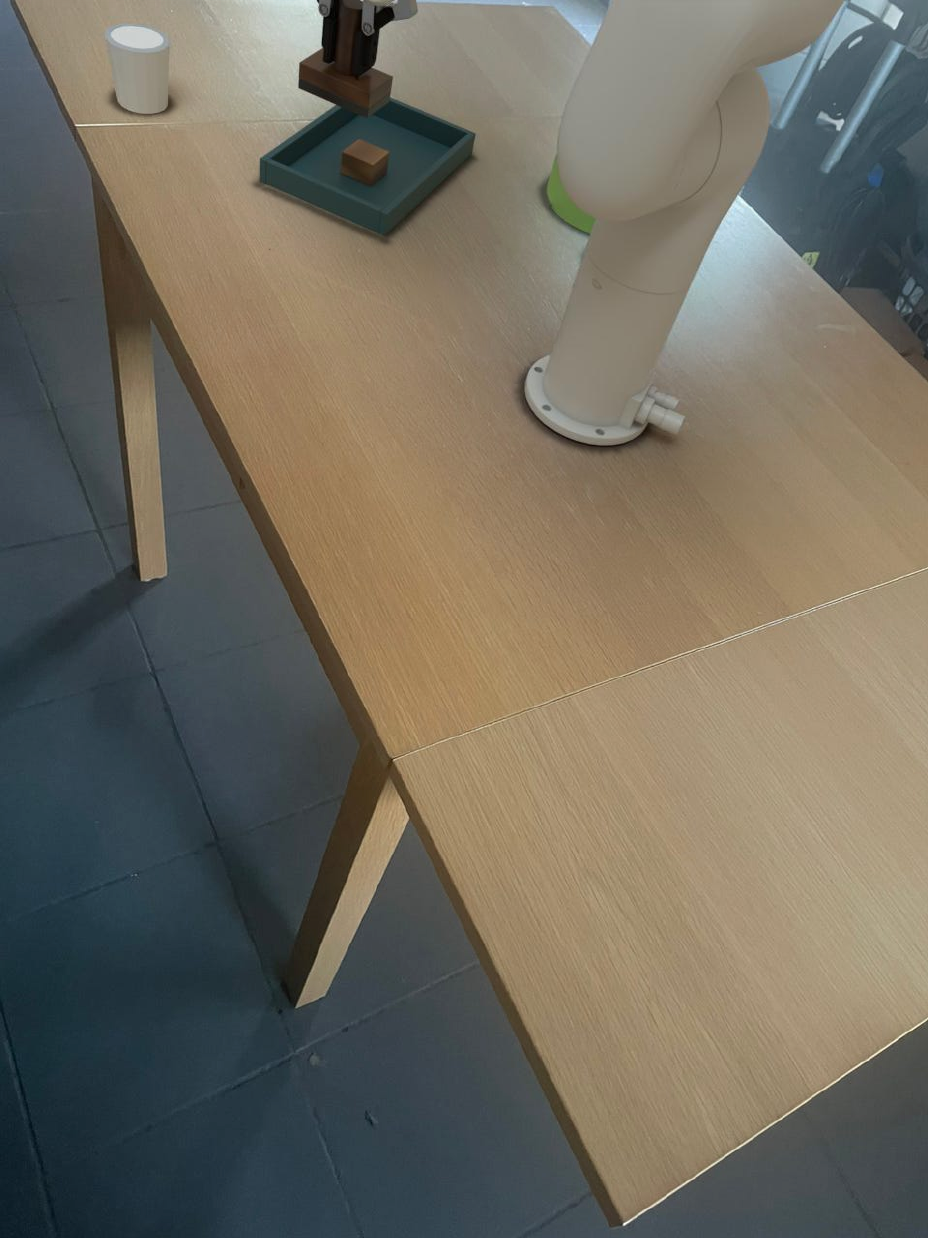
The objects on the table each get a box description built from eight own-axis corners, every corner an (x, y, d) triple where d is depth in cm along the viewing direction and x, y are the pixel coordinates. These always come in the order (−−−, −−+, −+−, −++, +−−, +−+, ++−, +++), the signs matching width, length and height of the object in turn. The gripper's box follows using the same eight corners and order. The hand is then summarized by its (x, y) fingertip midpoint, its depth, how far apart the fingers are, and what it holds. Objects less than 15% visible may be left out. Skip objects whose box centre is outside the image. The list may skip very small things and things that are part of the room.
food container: (536, 167, 116) (564, 61, 106) (644, 181, 119) (680, 79, 109) (575, 287, 101) (611, 178, 92) (696, 299, 105) (743, 194, 95)
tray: (471, 157, 114) (476, 133, 112) (384, 239, 100) (387, 214, 97) (360, 110, 116) (362, 85, 113) (259, 184, 101) (259, 157, 99)
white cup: (105, 86, 107) (97, 21, 102) (165, 86, 110) (161, 22, 105) (119, 117, 104) (112, 50, 99) (180, 115, 107) (177, 51, 101)
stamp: (389, 101, 95) (401, 11, 89) (367, 118, 92) (377, 26, 86) (322, 71, 96) (329, -20, 89) (297, 88, 93) (302, -6, 86)
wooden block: (387, 172, 107) (389, 151, 105) (370, 186, 105) (373, 164, 103) (356, 159, 108) (358, 138, 106) (340, 172, 105) (341, 151, 103)
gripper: (261, -193, 76) (256, 46, 91) (435, -122, 74) (402, 109, 89) (307, -206, 80) (296, 23, 95) (472, -140, 79) (435, 83, 93)
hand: (347, 63), depth 92 cm, fingers closed on stamp, 2 cm apart
